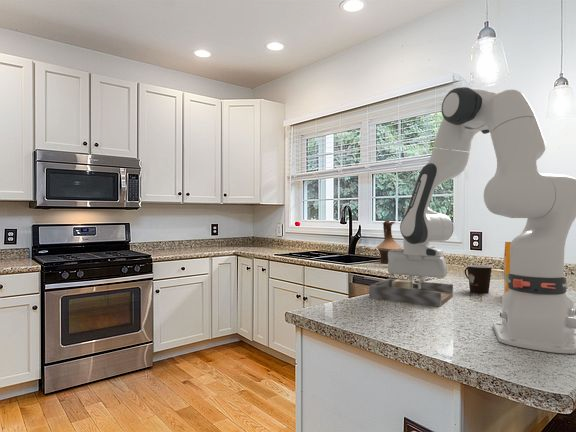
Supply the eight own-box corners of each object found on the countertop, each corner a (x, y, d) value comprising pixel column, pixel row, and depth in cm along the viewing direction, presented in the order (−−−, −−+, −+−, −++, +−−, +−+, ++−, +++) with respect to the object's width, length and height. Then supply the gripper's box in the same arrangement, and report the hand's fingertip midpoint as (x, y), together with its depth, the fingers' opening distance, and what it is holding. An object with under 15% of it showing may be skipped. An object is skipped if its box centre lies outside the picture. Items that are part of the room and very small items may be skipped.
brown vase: (371, 262, 257) (371, 220, 257) (395, 261, 260) (395, 220, 260) (382, 264, 240) (382, 220, 240) (407, 264, 243) (407, 220, 243)
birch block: (413, 291, 139) (413, 280, 140) (408, 294, 134) (408, 283, 135) (397, 290, 143) (397, 279, 143) (392, 292, 138) (392, 281, 138)
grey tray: (452, 296, 138) (452, 284, 139) (440, 306, 122) (440, 292, 122) (388, 289, 152) (388, 278, 152) (369, 298, 135) (369, 285, 135)
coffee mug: (495, 294, 143) (495, 267, 143) (470, 293, 144) (470, 267, 144) (485, 289, 154) (485, 264, 154) (462, 288, 156) (462, 263, 156)
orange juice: (535, 301, 131) (535, 243, 131) (506, 299, 135) (505, 242, 135) (531, 297, 138) (531, 241, 138) (503, 295, 142) (503, 241, 142)
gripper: (384, 249, 140) (384, 286, 139) (443, 251, 128) (444, 293, 128) (390, 248, 145) (390, 284, 145) (448, 250, 133) (448, 290, 133)
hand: (416, 288), depth 136 cm, fingers closed
